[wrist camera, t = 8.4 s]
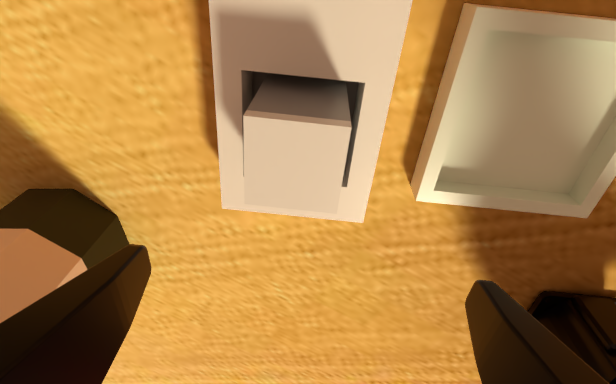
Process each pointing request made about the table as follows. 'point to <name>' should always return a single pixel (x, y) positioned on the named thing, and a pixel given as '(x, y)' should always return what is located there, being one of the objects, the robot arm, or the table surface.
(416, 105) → the table surface
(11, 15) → the table surface
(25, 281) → the wine bottle
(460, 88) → the tray
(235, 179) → the power strip
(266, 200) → the plug
